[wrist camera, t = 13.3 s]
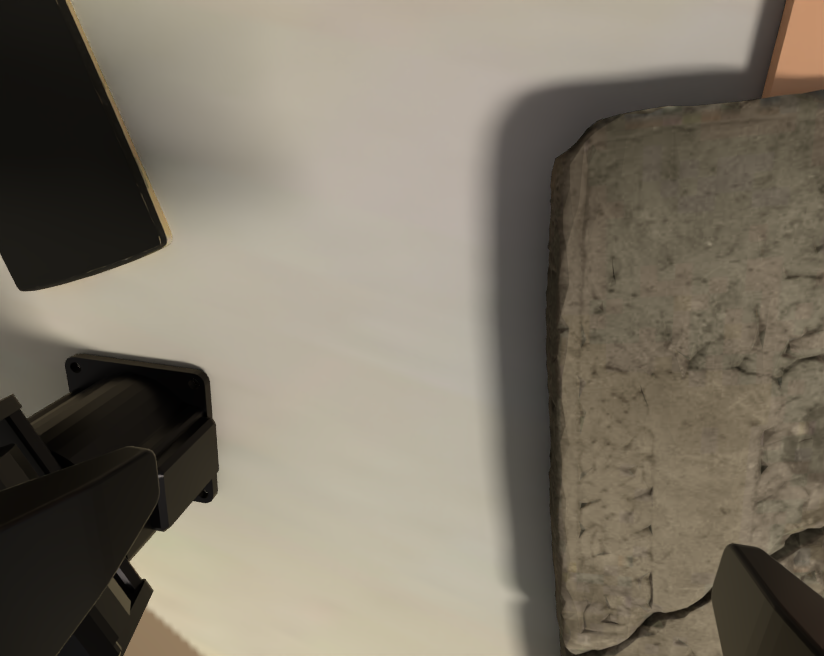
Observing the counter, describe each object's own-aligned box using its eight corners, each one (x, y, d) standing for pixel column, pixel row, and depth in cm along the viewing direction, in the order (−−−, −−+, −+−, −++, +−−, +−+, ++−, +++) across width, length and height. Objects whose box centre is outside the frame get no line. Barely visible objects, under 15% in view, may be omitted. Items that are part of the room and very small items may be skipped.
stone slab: (965, 69, 14) (828, 872, 23) (889, 79, 17) (794, 787, 26) (532, 122, 16) (564, 833, 25) (532, 123, 19) (561, 759, 28)
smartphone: (21, 298, 24) (-195, -105, 20) (42, 291, 25) (-159, -94, 21) (167, 251, 22) (-38, -208, 18) (183, 245, 23) (-7, -189, 19)
